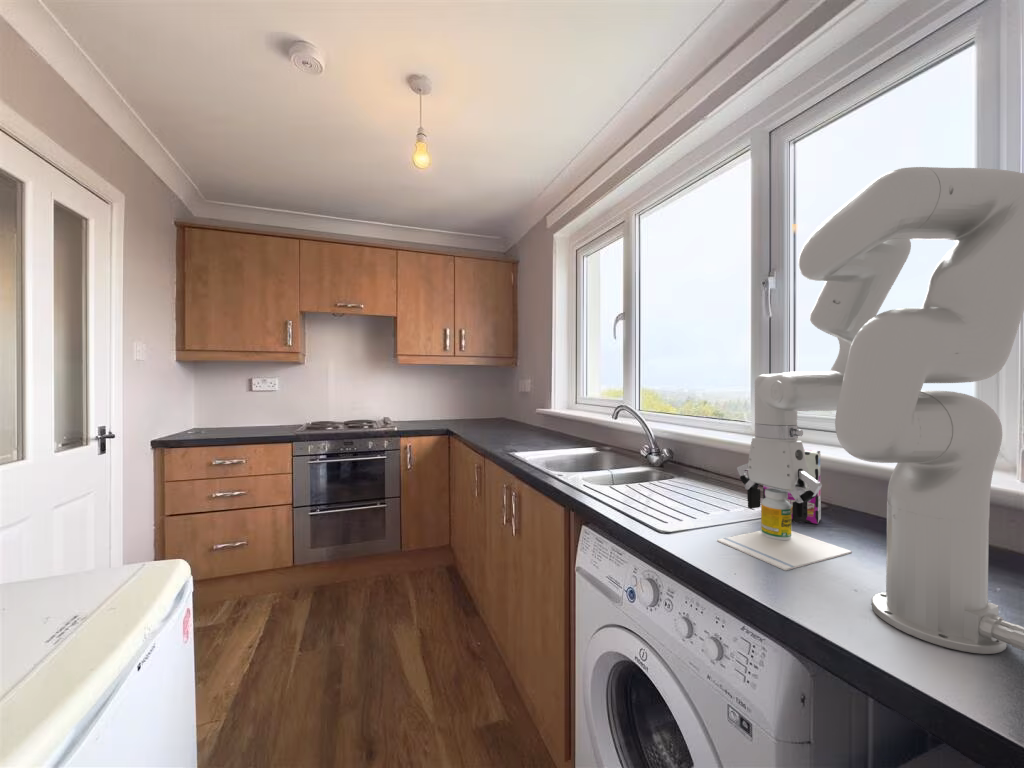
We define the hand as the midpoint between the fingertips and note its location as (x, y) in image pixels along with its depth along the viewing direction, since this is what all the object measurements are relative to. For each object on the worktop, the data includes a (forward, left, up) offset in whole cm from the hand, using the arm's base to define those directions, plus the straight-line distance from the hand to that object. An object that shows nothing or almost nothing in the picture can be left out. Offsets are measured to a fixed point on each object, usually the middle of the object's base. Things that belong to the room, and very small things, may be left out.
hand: (775, 514), depth 85 cm
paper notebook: (-4, +3, -5) cm, 7 cm away
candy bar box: (+7, -16, -5) cm, 18 cm away
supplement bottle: (0, 0, -5) cm, 5 cm away
